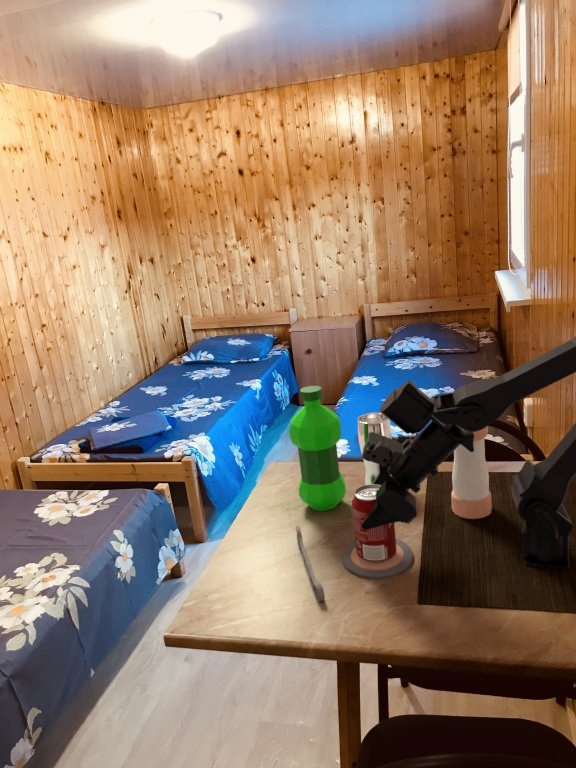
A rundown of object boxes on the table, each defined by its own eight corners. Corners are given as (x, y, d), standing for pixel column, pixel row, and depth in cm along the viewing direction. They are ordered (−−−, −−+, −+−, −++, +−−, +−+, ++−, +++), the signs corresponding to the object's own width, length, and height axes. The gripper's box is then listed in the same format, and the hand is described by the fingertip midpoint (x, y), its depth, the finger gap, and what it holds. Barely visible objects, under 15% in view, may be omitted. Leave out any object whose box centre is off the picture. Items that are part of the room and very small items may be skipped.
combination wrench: (323, 586, 95) (300, 521, 114) (315, 588, 95) (294, 523, 114) (326, 606, 97) (303, 539, 115) (317, 608, 96) (296, 540, 115)
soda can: (389, 569, 102) (383, 503, 98) (351, 562, 105) (344, 498, 101) (402, 547, 107) (397, 484, 104) (365, 541, 110) (359, 480, 107)
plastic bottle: (308, 491, 133) (294, 381, 126) (355, 494, 129) (344, 381, 122) (291, 514, 125) (276, 397, 117) (341, 518, 121) (328, 397, 113)
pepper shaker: (453, 519, 115) (448, 423, 110) (450, 500, 122) (445, 409, 117) (494, 518, 114) (491, 421, 108) (489, 499, 121) (486, 407, 115)
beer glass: (400, 478, 134) (395, 413, 130) (387, 492, 129) (382, 425, 124) (371, 474, 138) (365, 410, 134) (357, 487, 132) (351, 422, 128)
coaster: (418, 542, 109) (417, 538, 109) (405, 582, 99) (405, 578, 99) (352, 536, 114) (352, 533, 114) (333, 574, 103) (333, 570, 103)
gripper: (390, 399, 107) (333, 460, 112) (387, 441, 90) (320, 511, 95) (439, 439, 108) (380, 498, 113) (446, 489, 90) (376, 555, 96)
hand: (364, 513), depth 104 cm, fingers open, 9 cm apart
